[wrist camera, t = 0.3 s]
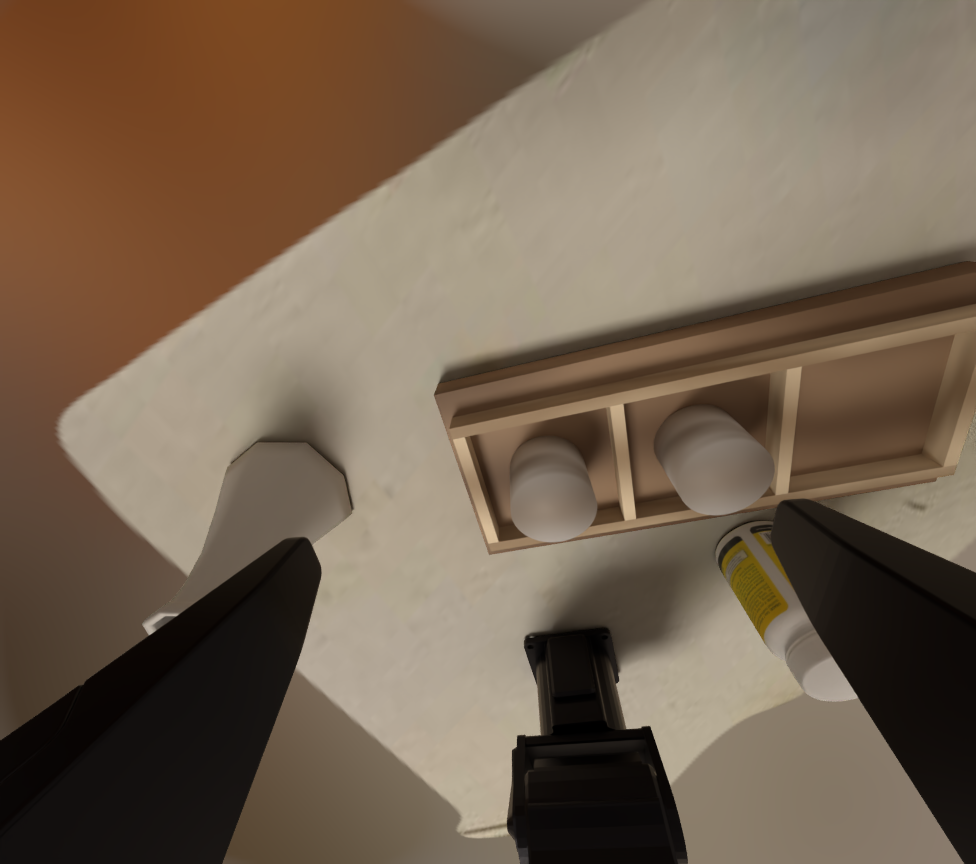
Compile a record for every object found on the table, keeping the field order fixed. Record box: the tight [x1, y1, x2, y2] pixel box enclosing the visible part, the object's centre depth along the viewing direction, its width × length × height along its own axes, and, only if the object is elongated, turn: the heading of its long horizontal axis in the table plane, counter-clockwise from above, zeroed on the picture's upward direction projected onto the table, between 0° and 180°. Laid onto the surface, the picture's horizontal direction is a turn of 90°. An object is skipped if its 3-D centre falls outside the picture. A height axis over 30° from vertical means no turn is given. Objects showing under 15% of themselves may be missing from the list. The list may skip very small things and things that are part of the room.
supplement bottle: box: [715, 521, 858, 701], centre depth 23 cm, size 5×5×8 cm
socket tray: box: [434, 261, 976, 555], centre depth 20 cm, size 11×24×5 cm, turn 104°
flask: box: [142, 442, 352, 635], centre depth 21 cm, size 7×7×10 cm
